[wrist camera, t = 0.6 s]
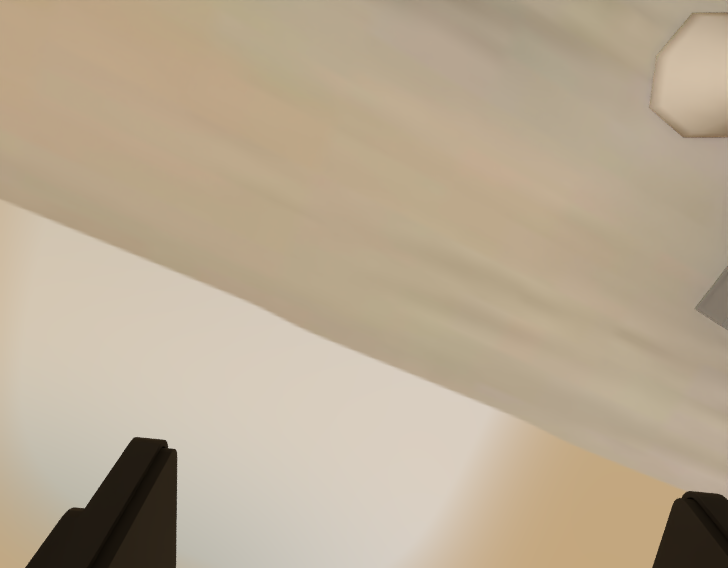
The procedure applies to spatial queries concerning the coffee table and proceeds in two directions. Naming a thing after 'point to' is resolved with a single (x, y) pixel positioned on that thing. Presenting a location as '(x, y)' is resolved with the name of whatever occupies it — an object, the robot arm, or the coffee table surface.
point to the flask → (694, 78)
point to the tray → (716, 301)
